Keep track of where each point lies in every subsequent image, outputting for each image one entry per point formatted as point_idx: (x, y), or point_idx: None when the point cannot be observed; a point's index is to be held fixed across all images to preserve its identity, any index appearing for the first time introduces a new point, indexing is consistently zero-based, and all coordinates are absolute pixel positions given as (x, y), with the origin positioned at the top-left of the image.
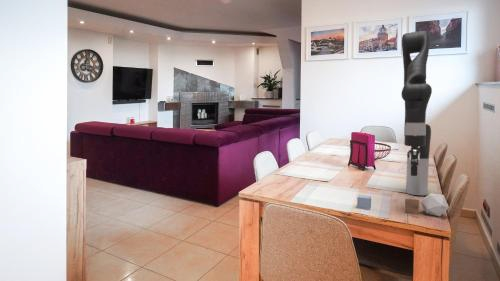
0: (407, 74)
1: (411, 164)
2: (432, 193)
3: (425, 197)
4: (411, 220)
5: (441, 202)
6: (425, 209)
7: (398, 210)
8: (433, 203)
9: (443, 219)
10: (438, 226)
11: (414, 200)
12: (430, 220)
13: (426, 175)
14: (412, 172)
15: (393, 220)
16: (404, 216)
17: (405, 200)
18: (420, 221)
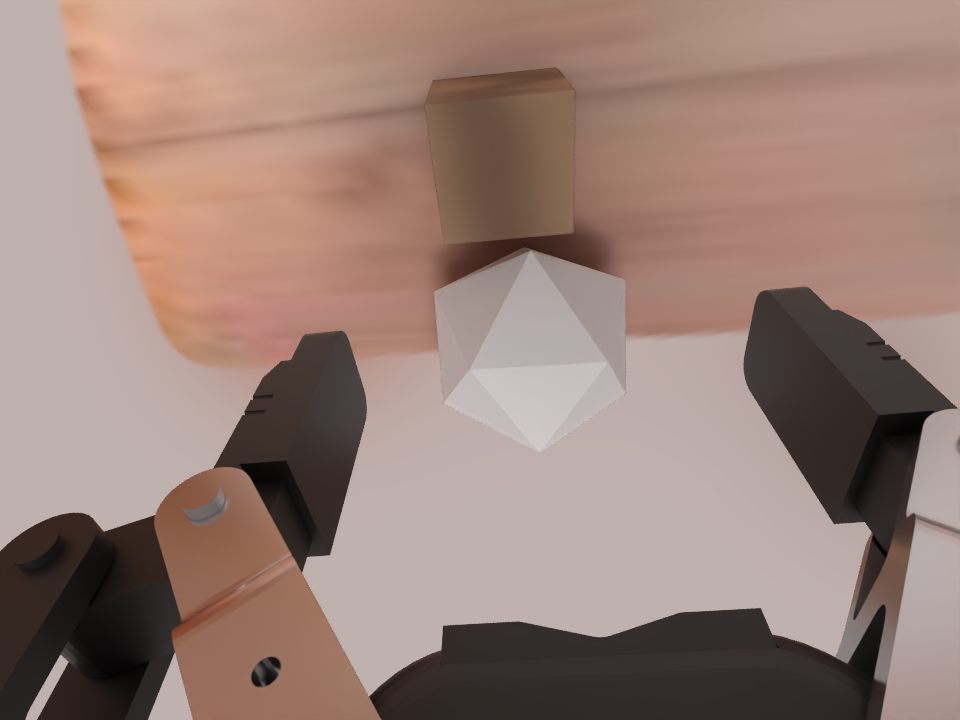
0: None
1: (25, 544)
2: (585, 379)
3: (540, 306)
4: (215, 170)
5: (461, 409)
6: (494, 262)
7: (497, 3)
8: (445, 354)
9: (421, 352)
10: (217, 336)
11: (512, 196)
12: (330, 288)
13: None
14: (259, 394)
15: (70, 23)
16: (297, 99)
17: (450, 107)
18: (244, 233)
